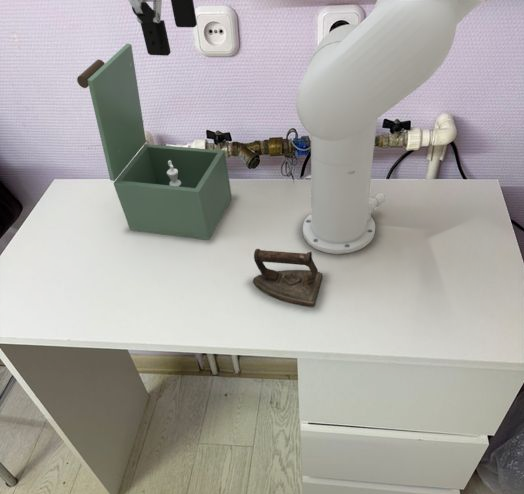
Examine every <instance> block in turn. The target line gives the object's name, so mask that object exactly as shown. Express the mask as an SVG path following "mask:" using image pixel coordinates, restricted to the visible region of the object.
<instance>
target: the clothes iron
mask: <svg viewBox="0 0 524 494" xmlns="http://www.w3.org/2000/svg"><path fill="white" fill-rule="evenodd" d="M253 260H254V263H255V264H256V267H257V269H258V271H259V272H260V274H258V275H256V276H254V277H253V279H252V283H253V285H254V286H255V287H256V288H257V289H258V290H259V291H261V292H262V293H264V294H266V295H267V296H270V297H272V298H274V299H276V300H279V301H282V302H286V303H289V304H293V305H298V306H301V307H309V308H314V307H315V306H316V303H317V299H318V295H319V292H320V289H321V284H322V281H323V272H321V271H318V267H317V266H316V264H315V261H314V260H313V254H312V251H308V252H306V253H304V252H290V251H289V252H286V251H277V250H265V249H264V250H261V249H260V248H255V250H254V252H253ZM264 263H272V264H284V265H285V264H286V265H297V266H298V265H299V266H306V267H308V269H285V270H274V269H271V268H268V267H267V266H266V265H265V264H264Z"/></svg>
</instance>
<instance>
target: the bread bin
mask: <svg viewBox="0 0 524 494" xmlns="http://www.w3.org/2000/svg"><path fill="white" fill-rule="evenodd" d="M170 160H171V162H172V165H173V167H174V168H175V169H177V170H178V178H177V180H180V181H181V185H180V186H179V187H178V186H170V185H169V184H170V182H171V179H170V178H169V176H168V175H167V171H168V170H169V169H170V167H169V165H168V161H170ZM113 186H114V190H115V192H116V194H117V195H116V196H117V197H118V200H119V203H120V206H121V209H122V212H123V214H124V217H125V220H126V223H127V225H128V228H129V230H130V231H133V232H142V233H149V234H158V235H166V236H172V237H173V236H174V237H181V238H189V239H197V240H203V241H210V240H211V237H212V236H213V234H214V232H215V230H216V228H217V227H218V225H219V223H220V221H221V219H222V218H223V215H224V214H225V212H226V210H227V209H228V206H229V204H230V203H231V201H232V199H233V196H232V189H231V183H230V176H229V169H228V163H227V157H226V150H223V149H214V148H213V149H211V148H201V147H200V148H199V147H188V146H187V147H186V146H174V145H161V144H149V143H145V144H144V145H143V146H142V148H141V149H140V150H139V151H138V153H137V154H136V155H135V156H134V157H133V159H132V160H131V161H130V162H129V164H128V165H127V166H126V167H125V169H124V170H123V171H122V172H121V174H120V175H119V176H118V177H117V179H116V180H115V181H113Z"/></svg>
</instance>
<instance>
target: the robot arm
mask: <svg viewBox="0 0 524 494" xmlns="http://www.w3.org/2000/svg"><path fill="white" fill-rule="evenodd" d="M484 1H485V0H376V2H375V4H374V7H373V9H372V11H371V12H370V13H369V14H368V15H367V16H366V17H365V18H364V19H363V20H362V21H361V22H360V23H359V24H354V23H349V24H343V25H339V26H337V27H335V28H333V29H332V30H331V31H329V32H328V33H327V34H326V35H325V36H324V37H322V39H321V40H320V42H319V44H318V45H317V46H316V48H315V49H314V52H313V54H312V56H311V57H310V60H309V62H308V64H307V66H306V69H305V71H304V73H303V74H302V77H301V79H300V82H299V85H298V87H297V92H296V98H295V100H296V101H295V103H296V104H295V106H296V112H297V116H298V119H299V121H300V124H301V125H302V127H303V128H304V130H305V131H307V132H308V134H310V186H311V187H310V191H311V192H310V194H311V197H310V199H311V200H310V203H311V207H310V208H311V212H310V213H309V215H307V216H306V218H305V219H304V221H303V224H302V234H303V238H304V240H305V241H306V242H307V244H308V245H310V246H311V247H312V248H313V249H316V250H318V251H320V252H324V253H326V254H327V253H328V254H333V255H342V254H343V255H344V254H350V253H354V252H357V251H361V249H363V248H365V247H366V246H367V245H369V244H370V243H371V242H372V240H373V239H374V236H375V234H376V233H375V232H376V223H375V219H373V217H372V216H371V214H372V213H373V212H374V210H375V208H378V207H380V206H381V205H383V204H384V203H385V202H386V197H385V195H384V193H382V192H378V193H376V194H374V195H373V196H372V197H370V193H371V185H372V184H371V183H372V174H373V173H372V172H373V162H374V151H375V144H376V135H377V124H378V119H379V118H380V117H382V116H383V115H385V114H386V113H387V112H388V111H390V110H391V109H392V108H394V107H395V106H396V105H397V104H399V103H400V102H402V101H403V100H404V99H406V98H407V97H408V96H410V95H411V94H412V93H413V92H415V91H416V90H417V89H419V88H420V87H421V86H422V85H424V84H425V83H426V82H427V81H428V80H429V79H430V78H432V76H433V75H434V74H435V73H436V72H437V71H438V69H439V68H440V67H441V66H442V65H443V63H444V62H445V60H446V59H447V57H448V55H449V54H450V51H451V49H452V46H453V43H454V40H455V37H456V33H457V26H458V24H459V23H461V21H463V19H464V18H465V17H467V16H468V15H469V14H470V13H471V12H473V10H475V9H476V8H477V7H479V6H480V5H481V4H482V3H483V2H484ZM148 2H149V3H152V7H151V6H150V5H149V3H148ZM162 2H163V0H128V3H129V4H130V6H131V10H132V12H133V14H134V15H135V16H136V20H137V22H138V23H139V24H140V28H141V31H142V35H143V39H144V44H145V47H146V52H147V54H148V55H149V56H164V57H166V56H167V57H168V56H169V55H170V54H171V52H172V51H171V47H170V42H169V38H168V32H167V28H166V22H165V19H162V4H163V3H162ZM170 4H171V8H172V13H173V19H174V24H175V26H176V28H196V27H197V25H198V21H197V15H196V9H195V3H194V0H170Z"/></svg>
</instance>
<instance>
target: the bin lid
mask: <svg viewBox="0 0 524 494" xmlns="http://www.w3.org/2000/svg"><path fill="white" fill-rule="evenodd" d="M76 82H77V84H78V85H79V87H81V88H82V89H87V88H88V89H89V94H90V99H91V102H92V107H93V110H94V115H95V119H96V123H97V128H98V132H99V137H100V141H101V146H102V150H103V155H104V159H105V163H106V167H107V172H108V176H109V180H110V181H112V182H115V181H116V179H117V178H118V177H119V176H120V175H121V173H122V172H123V171H124V170H125V168H126V167H127V166H128V165H129V163H130V162H131V161H132V160H133V158H134V157H135V156H136V155H137V153H138V152H139V151H140V150H141V148H142V147H143V146H144V145H145V144H147V140H146V133H145V126H144V119H143V113H142V106H141V100H140V99H141V98H140V93H139V86H138V80H137V72H136V66H135V60H134V54H133V46H132V44H131V43H126V44H125V45H124V46H122V48H120V49H119V50H118V51H117V52H116V53H115V54H114V55H113V56H112V57H111V58H109V60H107V61H106V62H104V61H103V60H102V59H96V60H95V61H94V62H93V63H92V64H91V65H89V66H88V67H87V68H86V69H85V70H84V71H83V72H81V74H79V75H78V76H77V78H76Z"/></svg>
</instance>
